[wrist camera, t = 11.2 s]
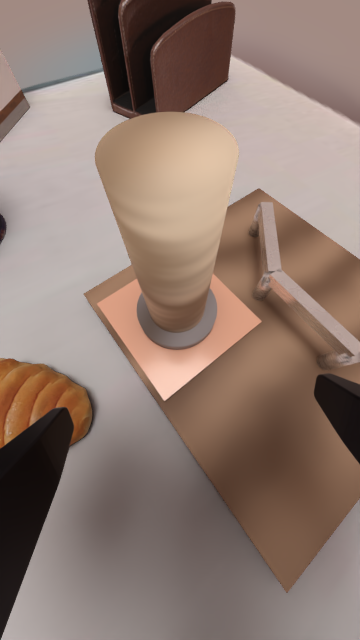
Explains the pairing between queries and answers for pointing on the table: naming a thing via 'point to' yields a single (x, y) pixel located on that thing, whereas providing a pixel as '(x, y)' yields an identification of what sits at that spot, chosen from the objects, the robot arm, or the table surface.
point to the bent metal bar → (299, 295)
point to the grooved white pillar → (9, 99)
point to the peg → (170, 215)
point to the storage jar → (2, 228)
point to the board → (270, 393)
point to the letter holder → (162, 51)
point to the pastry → (38, 398)
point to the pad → (182, 365)
